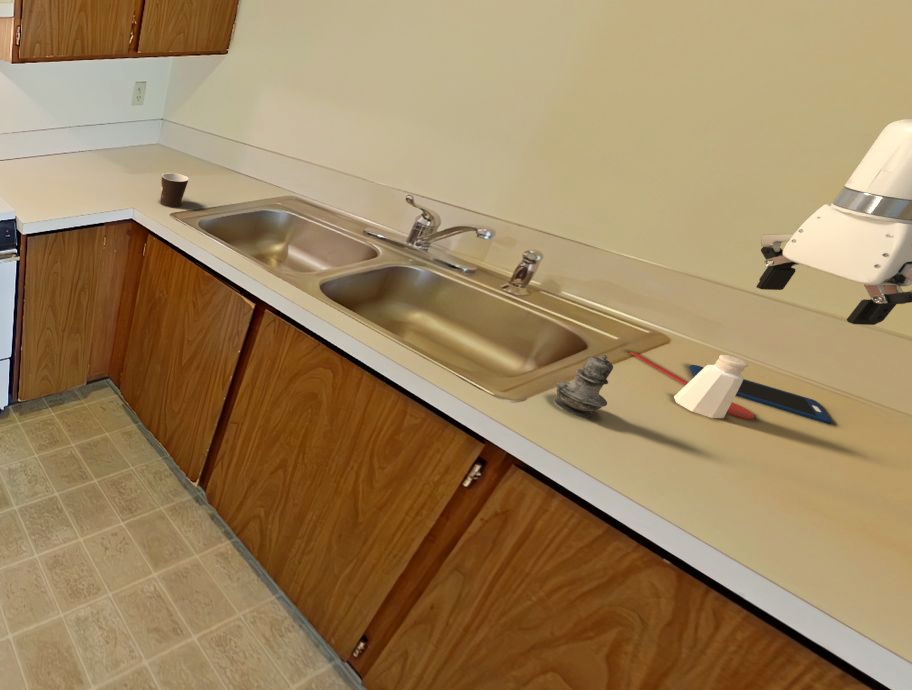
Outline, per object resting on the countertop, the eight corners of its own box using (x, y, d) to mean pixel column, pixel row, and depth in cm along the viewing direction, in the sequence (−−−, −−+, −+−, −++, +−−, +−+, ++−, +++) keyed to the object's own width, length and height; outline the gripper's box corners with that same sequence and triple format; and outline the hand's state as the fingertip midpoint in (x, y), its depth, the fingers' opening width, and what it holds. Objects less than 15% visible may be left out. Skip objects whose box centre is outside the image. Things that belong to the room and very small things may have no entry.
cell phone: (832, 426, 86) (835, 423, 86) (695, 384, 95) (698, 381, 95) (815, 404, 91) (818, 400, 90) (687, 365, 100) (689, 362, 99)
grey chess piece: (563, 417, 88) (597, 362, 83) (538, 393, 93) (569, 341, 88) (607, 425, 86) (644, 370, 81) (579, 401, 91) (613, 347, 87)
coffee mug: (177, 210, 171) (183, 183, 167) (153, 204, 176) (157, 177, 172) (190, 201, 179) (195, 174, 175) (166, 195, 184) (170, 169, 180)
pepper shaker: (716, 424, 86) (756, 373, 82) (666, 402, 91) (701, 353, 87) (728, 415, 88) (768, 365, 84) (679, 393, 93) (714, 345, 89)
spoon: (762, 421, 87) (764, 419, 87) (732, 419, 87) (734, 417, 87) (644, 355, 103) (645, 352, 103) (619, 353, 103) (621, 351, 103)
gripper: (1028, 231, 65) (933, 340, 71) (824, 185, 81) (762, 278, 87) (960, 229, 65) (872, 338, 72) (771, 184, 81) (713, 276, 88)
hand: (812, 305), depth 79 cm, fingers open, 9 cm apart
